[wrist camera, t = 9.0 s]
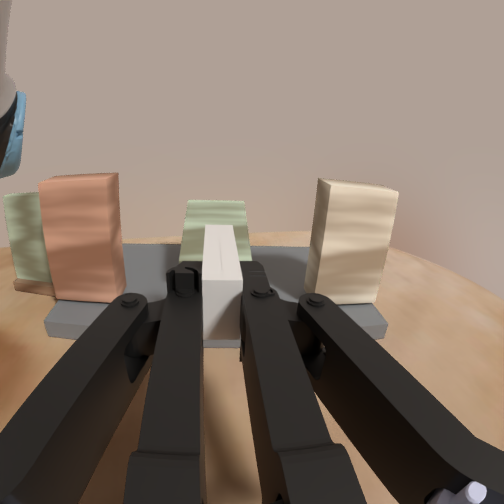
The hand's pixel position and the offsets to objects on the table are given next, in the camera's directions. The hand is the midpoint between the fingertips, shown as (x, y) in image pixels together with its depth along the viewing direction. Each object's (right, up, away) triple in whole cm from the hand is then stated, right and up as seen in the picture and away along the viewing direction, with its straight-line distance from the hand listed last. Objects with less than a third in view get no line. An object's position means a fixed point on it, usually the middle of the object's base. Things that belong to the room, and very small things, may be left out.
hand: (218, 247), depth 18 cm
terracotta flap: (-12, -4, +7) cm, 14 cm away
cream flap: (+10, -4, +10) cm, 14 cm away
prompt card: (-20, -4, +10) cm, 23 cm away
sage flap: (-1, -2, +9) cm, 9 cm away
